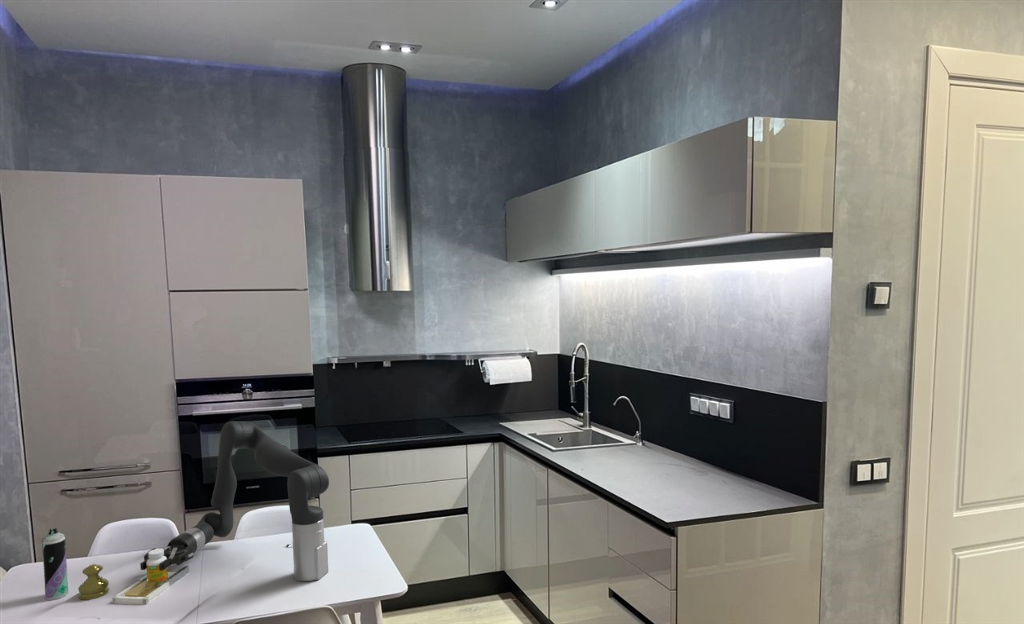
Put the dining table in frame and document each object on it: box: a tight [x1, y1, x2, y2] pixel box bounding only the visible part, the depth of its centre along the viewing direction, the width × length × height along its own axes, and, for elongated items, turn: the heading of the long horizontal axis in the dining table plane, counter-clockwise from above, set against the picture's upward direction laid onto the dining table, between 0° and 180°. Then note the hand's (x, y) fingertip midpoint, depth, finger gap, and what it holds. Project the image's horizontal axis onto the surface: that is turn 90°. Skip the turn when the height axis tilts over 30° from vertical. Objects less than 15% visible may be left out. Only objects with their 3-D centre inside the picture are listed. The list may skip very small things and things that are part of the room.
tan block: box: [125, 587, 148, 597], centre depth 185 cm, size 4×4×3 cm
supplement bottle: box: [146, 548, 169, 586], centre depth 193 cm, size 5×5×10 cm
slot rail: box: [137, 565, 190, 588], centre depth 196 cm, size 10×9×4 cm
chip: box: [136, 581, 159, 595], centre depth 189 cm, size 4×4×3 cm
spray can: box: [41, 527, 69, 601], centre depth 190 cm, size 6×6×20 cm
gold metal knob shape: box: [77, 563, 110, 601], centre depth 188 cm, size 7×7×10 cm
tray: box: [111, 581, 170, 605], centre depth 186 cm, size 10×10×3 cm
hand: (151, 567), depth 191 cm, fingers closed on supplement bottle, 5 cm apart
